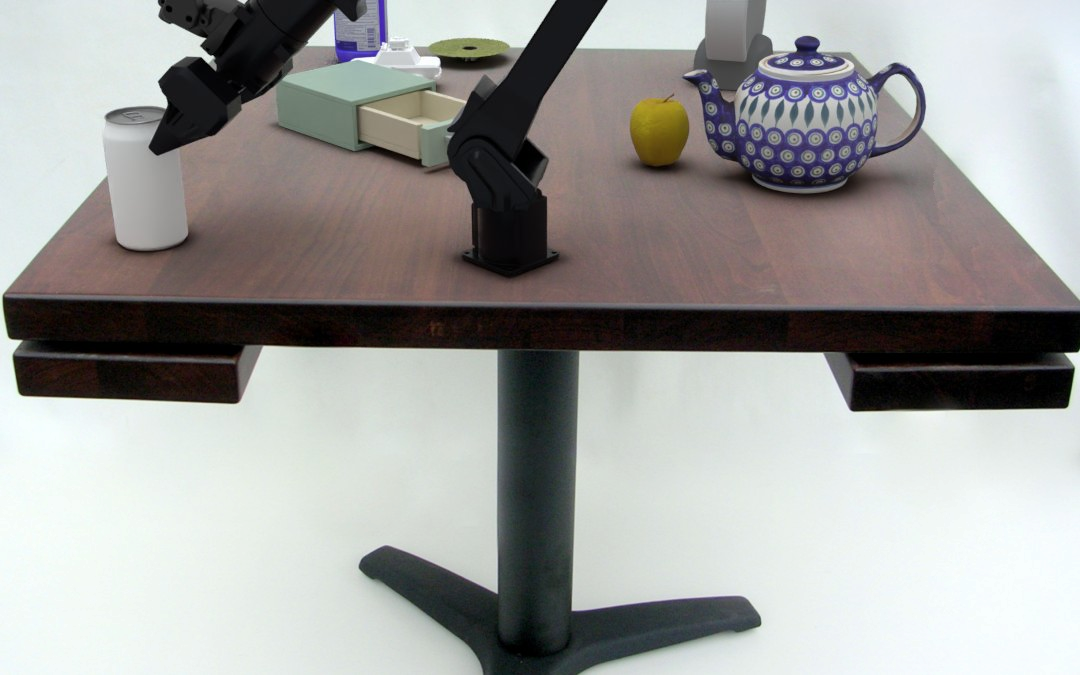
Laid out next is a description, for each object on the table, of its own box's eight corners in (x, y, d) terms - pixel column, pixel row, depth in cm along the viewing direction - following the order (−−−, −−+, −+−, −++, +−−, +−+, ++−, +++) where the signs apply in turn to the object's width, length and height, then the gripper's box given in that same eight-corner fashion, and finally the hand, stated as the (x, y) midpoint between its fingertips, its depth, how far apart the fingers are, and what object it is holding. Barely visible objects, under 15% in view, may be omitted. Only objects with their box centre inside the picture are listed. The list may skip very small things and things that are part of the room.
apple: (697, 171, 145) (701, 97, 142) (640, 176, 143) (643, 102, 140) (675, 153, 151) (678, 82, 147) (620, 158, 149) (622, 86, 146)
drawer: (534, 154, 148) (534, 117, 146) (459, 177, 141) (458, 139, 139) (425, 120, 159) (423, 86, 157) (350, 140, 152) (348, 104, 150)
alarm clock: (707, 60, 188) (714, -77, 181) (781, 65, 186) (792, -74, 178) (681, 89, 175) (687, -58, 167) (760, 96, 172) (771, -53, 164)
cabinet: (437, 128, 159) (435, 80, 157) (354, 151, 151) (351, 101, 149) (360, 105, 168) (358, 59, 166) (278, 125, 160) (274, 77, 158)
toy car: (350, 83, 178) (347, 30, 175) (443, 82, 178) (441, 30, 175) (345, 95, 172) (342, 41, 169) (440, 94, 172) (439, 41, 169)
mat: (461, 75, 181) (461, 60, 180) (412, 59, 189) (411, 45, 188) (526, 61, 188) (526, 47, 187) (476, 46, 195) (476, 33, 195)
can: (132, 258, 123) (114, 128, 118) (106, 237, 128) (88, 111, 122) (200, 242, 126) (185, 116, 121) (172, 222, 131) (157, 100, 126)
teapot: (904, 157, 149) (920, 21, 143) (932, 204, 136) (952, 56, 129) (674, 153, 150) (680, 18, 144) (680, 199, 137) (687, 52, 131)
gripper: (249, -72, 123) (146, 45, 129) (169, -35, 106) (55, 98, 112) (339, 19, 125) (234, 130, 131) (275, 70, 108) (158, 194, 115)
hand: (173, 136), depth 122 cm, fingers open, 9 cm apart
